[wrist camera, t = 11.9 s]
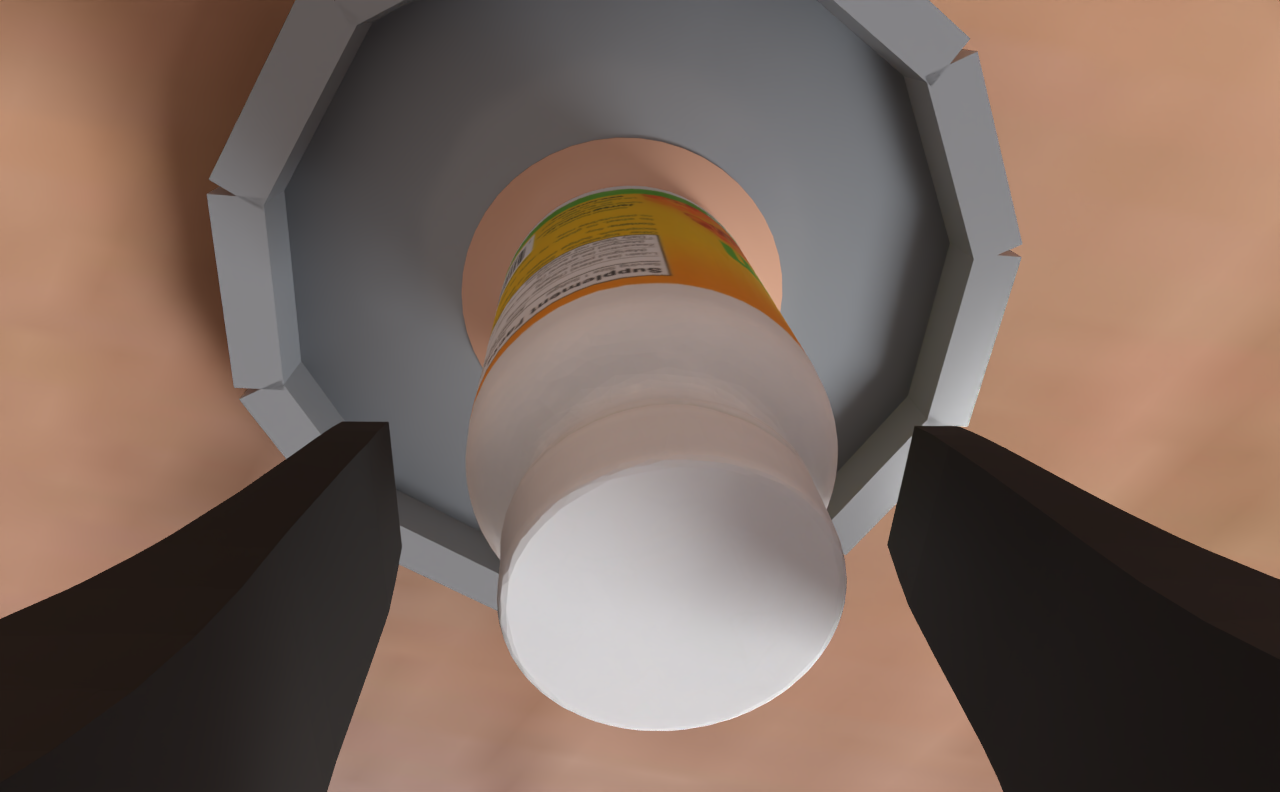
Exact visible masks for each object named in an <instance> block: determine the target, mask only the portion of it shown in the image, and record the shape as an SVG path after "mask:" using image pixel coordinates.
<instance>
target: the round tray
mask: <svg viewBox="0 0 1280 792" xmlns="http://www.w3.org/2000/svg"><path fill="white" fill-rule="evenodd" d="M969 40H970V38H969V37H968V36H967V35H966V34H965V33H964V32H962V31H961V30H960V29H959V28H958V27H957V26H956V25H955V24H954V23H953V22H952V21H951V20H950V19H948V18H947V17H946V16H945V15H944V14H943V13H942V12H941V11H940V10H939V9H938V8H937V7H935V6H934V5H933V4H932V3H931V2H930V1H929V0H295V2H294V4H293V6H292V8H291V11H290V13H289V15H288V17H287V19H286V21H285V23H284V25H283V27H282V29H281V31H280V33H279V35H278V37H277V39H276V42H275V44H274V46H273V48H272V50H271V52H270V54H269V56H268V58H267V60H266V62H265V64H264V66H263V68H262V70H261V73H260V75H259V77H258V79H257V81H256V83H255V85H254V87H253V89H252V91H251V93H250V95H249V97H248V99H247V101H246V104H245V106H244V108H243V110H242V112H241V114H240V116H239V118H238V120H237V122H236V124H235V126H234V128H233V130H232V132H231V134H230V137H229V139H228V141H227V143H226V145H225V147H224V149H223V151H222V153H221V155H220V157H219V159H218V161H217V163H216V165H215V168H214V170H213V172H212V174H211V176H210V178H209V180H210V181H212V182H214V183H215V184H217V185H219V186H220V187H218V188H216V189H214V190H213V191H211V192H209V193H207V200H208V207H209V214H210V221H211V228H212V236H213V243H214V250H215V257H216V264H217V271H218V278H219V285H220V292H221V299H222V306H223V313H224V321H225V328H226V335H227V342H228V349H229V356H230V363H231V370H232V377H233V384H234V388H248V389H247V390H246V392H245V393H244V394H243V395H242V396H241V398H240V399H239V400H240V401H241V402H242V403H243V405H244V406H245V407H246V408H247V410H248V411H249V412H250V414H251V415H252V416H253V417H254V419H255V420H256V421H257V422H258V424H259V425H260V426H261V427H262V429H263V430H264V431H265V433H266V434H267V435H268V436H269V438H270V439H271V440H272V441H273V443H274V444H275V445H276V446H277V448H278V449H279V450H280V452H281V453H282V454H283V455H284V457H285V458H286V459H287V458H289V457H290V456H291V455H293V454H294V453H296V452H297V451H298V450H300V449H301V448H303V447H304V446H305V445H307V444H308V443H310V442H311V441H312V440H314V439H315V438H317V437H318V436H320V435H321V434H322V433H324V432H325V431H327V430H328V429H330V428H331V427H333V426H335V425H337V424H338V423H340V422H342V421H355V422H389V429H390V438H391V448H392V457H393V466H394V476H395V485H396V495H397V504H398V513H399V523H400V532H401V541H402V550H401V555H400V561H399V565H401V566H404V567H406V568H408V569H410V570H412V571H414V572H416V573H418V574H421V575H423V576H425V577H427V578H429V579H431V580H433V581H435V582H437V583H440V584H442V585H444V586H446V587H448V588H450V589H452V590H454V591H457V592H459V593H461V594H463V595H465V596H467V597H469V598H471V599H474V600H476V601H478V602H480V603H482V604H484V605H486V606H488V607H490V608H493V609H495V610H497V611H498V609H497V590H498V578H499V568H500V559H499V558H498V557H497V555H496V554H495V553H494V551H493V550H492V548H491V547H490V545H489V543H488V542H487V540H486V538H485V536H484V535H483V533H482V531H481V529H480V526H479V524H478V521H477V519H476V516H475V514H474V511H473V507H472V504H471V500H470V496H469V491H468V486H467V480H466V460H465V457H466V447H467V438H468V430H469V422H470V418H471V413H472V409H473V405H474V400H475V397H476V393H477V389H478V385H479V381H480V377H481V373H482V369H483V365H484V360H485V356H486V351H487V346H488V343H489V339H490V335H491V331H492V327H493V323H494V319H495V314H496V310H497V306H498V302H499V297H500V294H501V290H502V287H503V283H504V280H505V277H506V273H507V271H508V269H509V266H510V263H511V261H512V259H513V257H514V255H515V253H516V251H517V250H518V248H519V246H520V245H521V243H522V242H523V240H524V239H525V237H526V236H527V235H528V234H529V232H530V231H531V230H532V229H533V228H534V227H535V226H536V225H537V224H538V223H539V222H540V221H541V220H542V219H543V218H544V217H545V216H546V215H547V214H549V213H550V212H551V211H552V210H554V209H555V208H557V207H558V206H560V205H562V204H563V203H565V202H567V201H569V200H571V199H573V198H575V197H577V196H580V195H582V194H585V193H588V192H591V191H595V190H599V189H604V188H609V187H617V186H645V187H652V188H657V189H661V190H665V191H669V192H672V193H674V194H677V195H680V196H682V197H684V198H686V199H688V200H690V201H692V202H694V203H695V204H697V205H698V206H700V207H702V208H703V209H704V210H706V211H707V212H708V213H710V214H711V215H712V216H713V217H714V218H715V219H716V220H717V221H718V222H719V223H720V224H721V225H722V226H723V227H724V228H725V229H726V230H727V231H728V233H729V234H730V235H731V236H732V237H733V239H734V240H735V241H736V243H737V244H738V246H739V247H740V249H741V250H742V252H743V254H744V256H745V257H746V259H747V260H748V262H749V263H750V265H751V266H752V268H753V270H754V271H755V273H756V275H757V276H758V278H759V279H760V281H761V283H762V284H763V286H764V287H765V289H766V291H767V292H768V294H769V295H770V297H771V298H772V300H773V302H774V303H775V305H776V306H777V308H778V310H779V311H780V313H781V314H782V316H783V318H784V319H785V321H786V322H787V324H788V326H789V327H790V329H791V330H792V332H793V334H794V335H795V337H796V339H797V340H798V342H799V343H800V345H801V347H802V348H803V350H804V352H805V353H806V355H807V357H808V358H809V360H810V361H811V363H812V365H813V366H814V368H815V371H816V373H817V375H818V377H819V379H820V381H821V382H822V384H823V386H824V389H825V391H826V394H827V396H828V399H829V401H830V405H831V408H832V412H833V416H834V420H835V425H836V433H837V440H838V459H837V471H836V479H835V483H834V488H833V492H832V495H831V498H830V501H829V504H828V507H827V511H828V513H829V516H830V518H831V520H832V523H833V525H834V527H835V530H836V532H837V534H838V537H839V539H840V542H841V546H842V550H843V554H845V555H846V554H847V553H848V552H849V551H850V550H851V549H852V548H853V547H854V546H855V545H856V544H857V543H858V542H859V541H860V540H861V539H862V538H863V537H864V536H865V535H866V534H867V533H868V532H869V531H870V530H871V529H872V528H873V527H874V526H875V525H876V524H877V523H878V522H879V521H880V520H881V519H882V518H883V517H884V516H885V515H886V513H887V512H888V511H889V510H890V509H891V508H892V507H893V506H894V505H895V504H896V503H897V501H898V496H899V492H900V487H901V483H902V479H903V474H904V470H905V465H906V461H907V457H908V452H909V448H910V444H911V439H912V435H913V430H914V426H964V427H968V425H969V421H970V418H971V415H972V412H973V409H974V406H975V402H976V399H977V396H978V393H979V390H980V387H981V384H982V380H983V377H984V374H985V371H986V368H987V365H988V361H989V358H990V355H991V352H992V349H993V346H994V343H995V339H996V336H997V333H998V330H999V327H1000V324H1001V320H1002V317H1003V314H1004V311H1005V308H1006V305H1007V302H1008V298H1009V295H1010V292H1011V289H1012V286H1013V283H1014V279H1015V276H1016V273H1017V270H1018V267H1019V264H1020V261H1021V256H1019V255H1017V254H1016V253H1014V252H1012V251H1011V250H1010V249H1012V248H1015V247H1017V246H1019V245H1022V241H1021V236H1020V232H1019V228H1018V224H1017V219H1016V215H1015V211H1014V206H1013V202H1012V198H1011V194H1010V189H1009V185H1008V181H1007V176H1006V172H1005V168H1004V163H1003V159H1002V155H1001V151H1000V146H999V142H998V138H997V133H996V129H995V125H994V120H993V116H992V112H991V108H990V103H989V99H988V95H987V90H986V86H985V82H984V77H983V73H982V69H981V65H980V60H979V56H978V52H977V51H972V50H965V49H962V48H963V47H964V46H965V45H966V43H967V42H968V41H969Z"/></svg>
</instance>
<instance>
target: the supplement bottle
mask: <svg viewBox="0 0 1280 792" xmlns="http://www.w3.org/2000/svg"><path fill="white" fill-rule="evenodd" d="M837 459H838V440H837V433H836V425H835V420H834V416H833V412H832V408H831V405H830V401H829V399H828V396H827V394H826V391H825V389H824V386H823V384H822V382H821V381H820V379H819V377H818V375H817V373H816V371H815V368H814V366H813V365H812V363H811V361H810V360H809V358H808V357H807V355H806V353H805V352H804V350H803V348H802V347H801V345H800V343H799V342H798V340H797V339H796V337H795V335H794V334H793V332H792V330H791V329H790V327H789V326H788V324H787V322H786V321H785V319H784V318H783V316H782V314H781V313H780V311H779V310H778V308H777V306H776V305H775V303H774V302H773V300H772V298H771V297H770V295H769V294H768V292H767V291H766V289H765V287H764V286H763V284H762V283H761V281H760V279H759V278H758V276H757V275H756V273H755V271H754V270H753V268H752V266H751V265H750V263H749V262H748V260H747V259H746V257H745V256H744V254H743V252H742V250H741V249H740V247H739V246H738V244H737V243H736V241H735V240H734V239H733V237H732V236H731V235H730V234H729V233H728V231H727V230H726V229H725V228H724V227H723V226H722V225H721V224H720V223H719V222H718V221H717V220H716V219H715V218H714V217H713V216H712V215H711V214H710V213H708V212H707V211H706V210H704V209H703V208H702V207H700V206H698V205H697V204H695V203H694V202H692V201H690V200H688V199H686V198H684V197H682V196H680V195H677V194H674V193H672V192H669V191H665V190H661V189H657V188H652V187H645V186H617V187H609V188H604V189H599V190H595V191H591V192H588V193H585V194H582V195H580V196H577V197H575V198H573V199H571V200H569V201H567V202H565V203H563V204H562V205H560V206H558V207H557V208H555V209H554V210H552V211H551V212H550V213H549V214H547V215H546V216H545V217H544V218H543V219H542V220H541V221H540V222H539V223H538V224H537V225H536V226H535V227H534V228H533V229H532V230H531V231H530V232H529V234H528V235H527V236H526V237H525V239H524V240H523V242H522V243H521V245H520V246H519V248H518V250H517V251H516V253H515V255H514V257H513V259H512V261H511V263H510V266H509V269H508V271H507V273H506V277H505V280H504V283H503V287H502V290H501V294H500V297H499V302H498V306H497V310H496V314H495V319H494V323H493V327H492V331H491V335H490V339H489V343H488V346H487V351H486V356H485V360H484V365H483V369H482V373H481V377H480V381H479V385H478V389H477V393H476V397H475V400H474V405H473V409H472V413H471V418H470V422H469V430H468V438H467V447H466V457H465V460H466V480H467V486H468V491H469V496H470V500H471V504H472V507H473V511H474V514H475V516H476V519H477V521H478V524H479V526H480V529H481V531H482V533H483V535H484V536H485V538H486V540H487V542H488V543H489V545H490V547H491V548H492V550H493V551H494V553H495V554H496V555H497V557H498V558H499V559H500V568H499V578H498V590H497V609H498V617H499V623H500V627H501V630H502V634H503V637H504V640H505V643H506V645H507V647H508V650H509V652H510V654H511V656H512V658H513V659H514V661H515V662H516V664H517V666H518V667H519V669H520V670H521V671H522V672H523V674H524V675H525V676H526V677H527V679H528V680H529V681H530V682H531V683H532V684H533V685H534V686H535V687H536V688H537V689H538V690H540V691H541V692H542V693H543V694H544V695H546V696H547V697H548V698H550V699H551V700H553V701H554V702H556V703H557V704H559V705H560V706H562V707H564V708H565V709H567V710H569V711H572V712H574V713H576V714H578V715H580V716H583V717H585V718H587V719H590V720H593V721H596V722H599V723H603V724H606V725H611V726H615V727H620V728H625V729H633V730H646V731H673V730H684V729H690V728H697V727H702V726H707V725H712V724H715V723H718V722H722V721H725V720H729V719H732V718H735V717H737V716H740V715H742V714H745V713H747V712H749V711H751V710H753V709H755V708H757V707H759V706H761V705H763V704H765V703H767V702H769V701H770V700H772V699H774V698H775V697H777V696H778V695H780V694H781V693H783V692H784V691H785V690H787V689H788V688H789V687H791V686H792V685H793V684H794V683H795V682H796V681H797V680H799V679H800V678H801V677H802V676H803V675H804V674H805V673H806V672H807V671H808V670H809V669H810V668H811V667H812V666H813V664H814V663H815V662H816V661H817V660H818V658H819V657H820V656H821V654H822V653H823V651H824V650H825V648H826V647H827V645H828V644H829V642H830V640H831V638H832V636H833V634H834V632H835V630H836V628H837V626H838V623H839V620H840V618H841V615H842V612H843V607H844V603H845V595H846V584H847V577H846V567H845V559H844V554H843V550H842V546H841V542H840V539H839V537H838V534H837V532H836V530H835V527H834V525H833V523H832V520H831V518H830V516H829V513H828V511H827V507H828V504H829V501H830V498H831V495H832V492H833V488H834V483H835V479H836V471H837Z"/></svg>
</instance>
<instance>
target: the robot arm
mask: <svg viewBox="0 0 1280 792" xmlns="http://www.w3.org/2000/svg"><path fill="white" fill-rule="evenodd" d="M887 545H888V548H889V551H890V554H891V557H892V560H893V563H894V566H895V569H896V572H897V575H898V578H899V581H900V584H901V586H902V589H903V592H904V594H905V597H906V600H907V602H908V605H909V607H910V609H911V611H912V613H913V615H914V617H915V619H916V621H917V623H918V625H919V627H920V629H921V631H922V633H923V635H924V637H925V638H926V640H927V642H928V644H929V646H930V648H931V650H932V652H933V654H934V656H935V658H936V659H937V661H938V663H939V665H940V667H941V669H942V671H943V673H944V674H945V676H946V678H947V680H948V682H949V684H950V686H951V688H952V689H953V691H954V693H955V695H956V697H957V699H958V701H959V703H960V704H961V706H962V708H963V710H964V712H965V714H966V716H967V718H968V720H969V721H970V723H971V725H972V727H973V729H974V731H975V733H976V735H977V736H978V738H979V740H980V742H981V744H982V746H983V748H984V750H985V752H986V754H987V756H988V759H989V761H990V763H991V765H992V767H993V769H994V771H995V773H996V775H997V777H998V780H999V782H1000V785H1001V787H1002V790H1003V792H1280V579H1277V578H1274V577H1272V576H1269V575H1267V574H1264V573H1262V572H1259V571H1257V570H1254V569H1252V568H1250V567H1247V566H1245V565H1242V564H1240V563H1237V562H1235V561H1233V560H1230V559H1228V558H1225V557H1223V556H1220V555H1218V554H1215V553H1213V552H1211V551H1208V550H1206V549H1204V548H1201V547H1199V546H1197V545H1195V544H1192V543H1190V542H1188V541H1186V540H1183V539H1181V538H1179V537H1177V536H1175V535H1172V534H1170V533H1168V532H1166V531H1164V530H1162V529H1160V528H1158V527H1156V526H1154V525H1152V524H1150V523H1148V522H1145V521H1143V520H1141V519H1139V518H1137V517H1135V516H1133V515H1131V514H1129V513H1127V512H1125V511H1123V510H1121V509H1119V508H1117V507H1115V506H1113V505H1111V504H1109V503H1107V502H1105V501H1103V500H1101V499H1099V498H1097V497H1095V496H1094V495H1092V494H1090V493H1088V492H1086V491H1084V490H1082V489H1080V488H1078V487H1077V486H1075V485H1073V484H1071V483H1069V482H1067V481H1065V480H1063V479H1062V478H1060V477H1058V476H1056V475H1054V474H1052V473H1050V472H1049V471H1047V470H1045V469H1043V468H1041V467H1039V466H1037V465H1036V464H1034V463H1032V462H1030V461H1028V460H1026V459H1024V458H1023V457H1021V456H1019V455H1017V454H1015V453H1013V452H1011V451H1009V450H1008V449H1006V448H1004V447H1002V446H1000V445H998V444H996V443H994V442H992V441H990V440H988V439H986V438H984V437H982V436H980V435H977V434H975V433H973V432H971V431H968V430H966V429H963V428H961V427H958V426H914V430H913V435H912V439H911V444H910V448H909V452H908V457H907V461H906V465H905V470H904V474H903V479H902V483H901V487H900V492H899V496H898V501H897V505H896V509H895V514H894V518H893V523H892V527H891V531H890V536H889V540H888V544H887ZM401 550H402V541H401V532H400V523H399V513H398V504H397V495H396V485H395V476H394V466H393V457H392V448H391V438H390V429H389V422H355V421H342V422H340V423H338V424H337V425H335V426H333V427H331V428H330V429H328V430H327V431H325V432H324V433H322V434H321V435H320V436H318V437H317V438H315V439H314V440H312V441H311V442H310V443H308V444H307V445H305V446H304V447H303V448H301V449H300V450H298V451H297V452H296V453H294V454H293V455H291V456H290V457H289V458H287V459H286V460H284V461H283V462H281V463H280V464H279V465H277V466H276V467H274V468H273V469H271V470H270V471H269V472H267V473H266V474H264V475H263V476H261V477H260V478H259V479H257V480H256V481H254V482H253V483H251V484H250V485H249V486H247V487H246V488H244V489H243V490H241V491H240V492H238V493H237V494H235V495H234V496H232V497H230V498H229V499H227V500H226V501H224V502H223V503H221V504H219V505H218V506H216V507H215V508H213V509H211V510H210V511H208V512H207V513H205V514H204V515H202V516H200V517H199V518H197V519H196V520H194V521H192V522H191V523H189V524H188V525H186V526H185V527H183V528H181V529H180V530H178V531H177V532H175V533H173V534H172V535H170V536H168V537H167V538H165V539H163V540H161V541H160V542H158V543H156V544H154V545H153V546H151V547H149V548H147V549H145V550H144V551H142V552H140V553H138V554H136V555H135V556H133V557H131V558H129V559H127V560H125V561H123V562H121V563H119V564H117V565H115V566H113V567H111V568H110V569H108V570H106V571H104V572H102V573H100V574H98V575H96V576H94V577H92V578H90V579H88V580H86V581H84V582H82V583H80V584H78V585H76V586H74V587H72V588H70V589H67V590H65V591H63V592H61V593H58V594H56V595H54V596H51V597H49V598H47V599H45V600H42V601H40V602H38V603H36V604H33V605H31V606H29V607H26V608H24V609H22V610H20V611H17V612H15V613H13V614H11V615H8V616H6V617H4V618H1V619H0V792H327V790H328V787H329V783H330V780H331V777H332V773H333V770H334V767H335V764H336V761H337V758H338V755H339V752H340V749H341V746H342V744H343V741H344V738H345V735H346V732H347V730H348V727H349V724H350V721H351V718H352V716H353V713H354V710H355V707H356V704H357V702H358V699H359V696H360V693H361V690H362V688H363V685H364V682H365V679H366V676H367V673H368V671H369V668H370V665H371V662H372V659H373V656H374V654H375V651H376V648H377V645H378V642H379V639H380V636H381V634H382V631H383V628H384V625H385V622H386V619H387V616H388V613H389V609H390V604H391V600H392V595H393V591H394V586H395V581H396V576H397V571H398V566H399V561H400V555H401Z"/></svg>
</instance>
